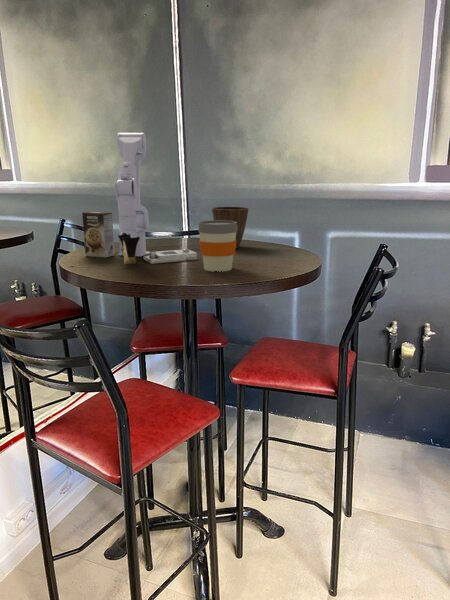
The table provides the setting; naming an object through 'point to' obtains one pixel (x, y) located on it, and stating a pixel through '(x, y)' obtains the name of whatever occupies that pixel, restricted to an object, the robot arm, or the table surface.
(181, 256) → the square-hole plate
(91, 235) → the coffee box
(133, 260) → the brass pin
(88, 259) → the table surface
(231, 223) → the reusable coffee cup
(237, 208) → the plant pot
